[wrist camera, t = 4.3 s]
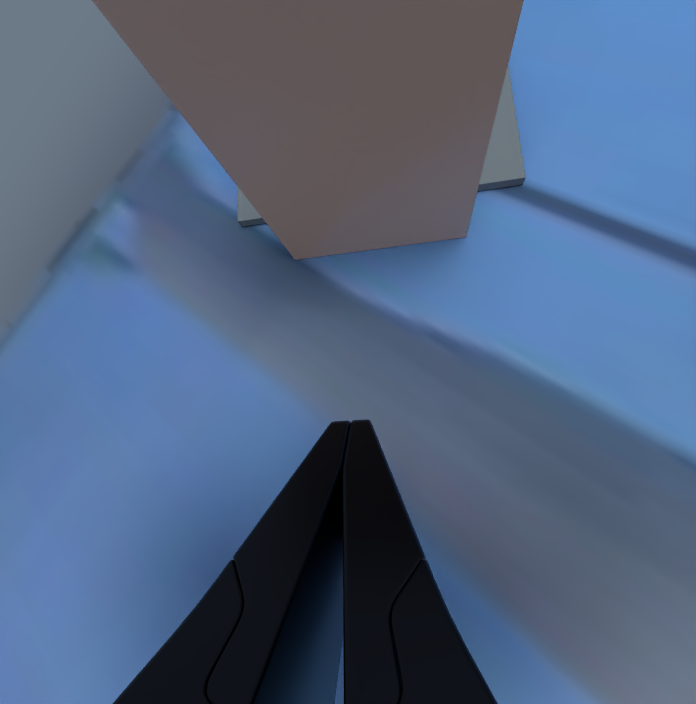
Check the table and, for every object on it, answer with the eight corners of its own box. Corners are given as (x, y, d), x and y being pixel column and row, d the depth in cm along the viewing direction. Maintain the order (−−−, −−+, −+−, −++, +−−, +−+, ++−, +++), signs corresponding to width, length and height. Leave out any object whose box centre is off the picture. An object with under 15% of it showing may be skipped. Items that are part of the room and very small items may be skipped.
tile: (466, 237, 20) (558, -145, 7) (295, 259, 22) (81, -13, 8) (461, 201, 20) (541, -232, 7) (293, 225, 22) (88, -90, 8)
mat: (522, 184, 20) (525, 177, 19) (242, 226, 22) (238, 221, 22) (501, 50, 21) (504, 40, 21) (241, 103, 24) (236, 96, 23)
